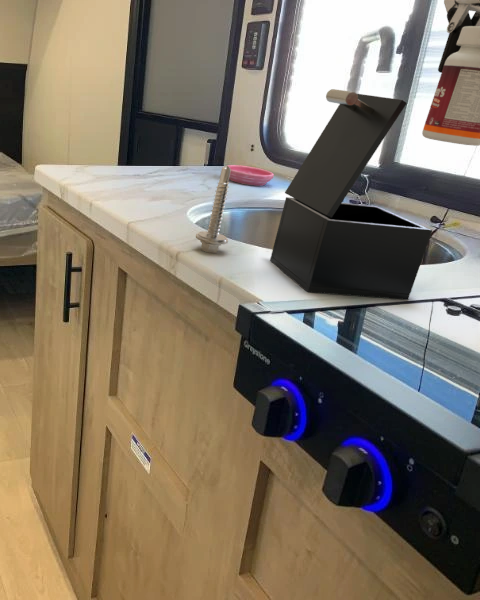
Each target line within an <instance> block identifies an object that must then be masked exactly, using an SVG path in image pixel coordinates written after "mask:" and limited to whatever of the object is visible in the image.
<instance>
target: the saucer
mask: <svg viewBox="0 0 480 600" xmlns="http://www.w3.org/2000/svg"><path fill="white" fill-rule="evenodd" d="M226 166H228V167H229V168H231V172H230V177H229V181H232V182H235V183H238V184H241V185H246V186H247V185H248V186H253V187H254V186H255V187H260V186H261V187H262V186H265V185H266V184H267V183H268V182H271V181H272V180H273V179H274V176H275V175H274V173H273V172H272V171H269V170H266V169H264V168H259V167H254V166H249V165H240V164H227V165H226Z"/></svg>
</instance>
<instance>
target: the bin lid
mask: <svg viewBox="0 0 480 600" xmlns="http://www.w3.org/2000/svg"><path fill="white" fill-rule="evenodd" d="M325 98H326V99H325V100H326V101H327V102H329V103H333V104H338V106H337V108H336V109H335V111H334V112H333V114H332V115H331V117H330V119H329V120H328V122H327V123H326V125H325V127H324V129H322V132H321V133H320V135H319V137H318V138H317V139H316V141H315V143H314V145H313V146H312V148H311V149H310V151H309V152H308V154H307V156H306V157H305V159H304V161H303V163H302V164H301V165H300V167H299V169H298V171H296V174H295V175H294V177H293V178H292V179H291V182H290V183H289V185H288V187H287V188H286V189H285V191H284V194H286V195H288V196H289V197H290V198H295V199H297V200H299V201H301V202H302V203H304V204H306V205H308V206H310V207H312V208H314V209H315V210H317V211H319V212H321V213H323V214H325V215H327V216H329V217H330V218H332V217H333V215H334V214H335V212H336V211H337V209H338V207H339V206H340V204H341V203H343V202H344V200H345V199H346V197H347V195H348V194H349V192H350V191H351V189H352V188H353V186H355V184H356V182H357V180H358V179H359V177H360V176H361V175H362V173H363V171H364V170H365V168H366V167H367V165H368V163H369V162H370V161H371V159H372V158H373V156H374V154H375V153H376V151H377V150H378V148H379V147H380V145H381V143H382V142H383V141H384V139H385V137H386V136H387V134H388V133H389V131H390V130H391V129H392V127H393V126H394V124H395V122H396V121H397V119H398V118H399V117H400V115H401V113H402V111H403V110H404V109H405V107H406V105H407V104H408V102H406V101H405V100H404V99H398V98H391V97H383V96H377V95H369V94H362V93H357V92H356V91H349V90H344V89H343V90H342V89H335V88H332V89H329V90H328V91H327V93H326V94H325Z"/></svg>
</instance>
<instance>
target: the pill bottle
mask: <svg viewBox="0 0 480 600" xmlns="http://www.w3.org/2000/svg"><path fill="white" fill-rule="evenodd" d="M457 45H458V46H461V48H460V50H459V51H458V52H455V53H453V54H451V55H450V56H449V57H448V58H447V59H446V61H445V64H444V67H443V70H442V73H440V77H439V80H438V83H437V86H436V89H435V92H434V95H433V98H432V100H431V104H430V106H429V110H428V113H427V115H426V119H425V122H424V125H423V128H422V132H421V133H422V136H423V137H424V138H425V139H427V140H428V139H429V140H433V141H437V142H444V143H451V144H456V145H462V146H463V145H464V146H473V147H474V146H475V147H476V146H480V26H465V27H463V28H462V30H461V33H460V36H459V39H458V41H457Z"/></svg>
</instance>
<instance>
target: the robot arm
mask: <svg viewBox="0 0 480 600" xmlns="http://www.w3.org/2000/svg"><path fill="white" fill-rule="evenodd" d="M443 5H444V7H445V10H446V19H447V22H448V25H447V26H446V32H447V33H448V36H447V40H446V43H445V45H444V48H443V52H442V54H441V59H440V61H439V65H438V68H437V71H438V73H440V74H441V73H442V70H443V67H444V64H445V61H446V59H447V58H448V57H449V56H450V55H451V54H453V53H455V52H458V51H459V50H460V48H461V46H458V45H457V41H458V39H459V36H460V33H461V30H462V28H463V27H465V26H480V0H443ZM470 12H474V14H473V15H472V17H471V16H470V15H471V14H470Z"/></svg>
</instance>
